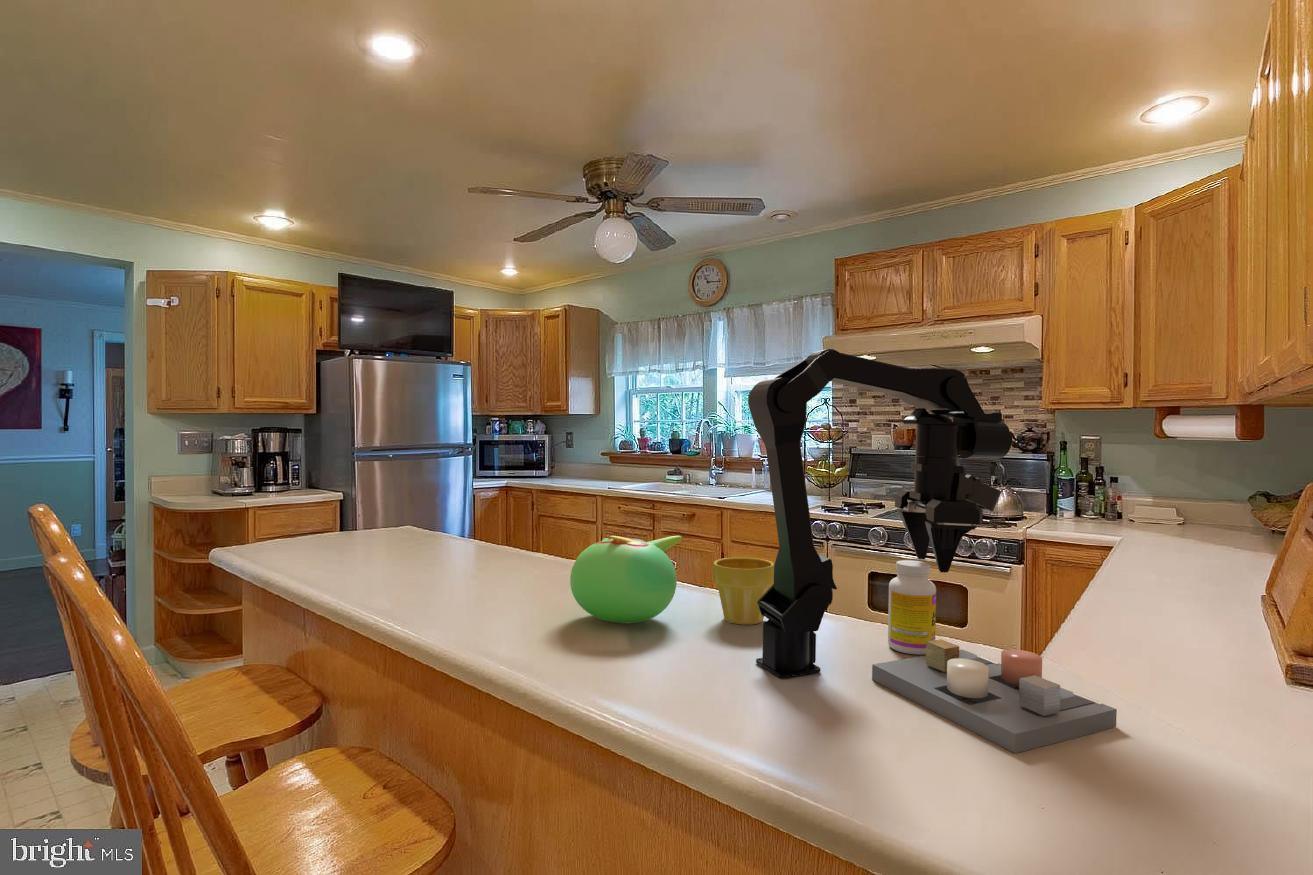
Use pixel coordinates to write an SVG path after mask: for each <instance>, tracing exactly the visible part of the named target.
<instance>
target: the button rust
mask: <svg viewBox="0 0 1313 875" xmlns="http://www.w3.org/2000/svg"><path fill="white" fill-rule="evenodd" d="M1000 657H1001V658H1000V659H1001V660H1000V664H1001V678H1002V679H1003V680H1005V681H1007V682H1009V683H1012V684H1015V685H1019V679H1020V678H1024V677H1029V676H1034V675H1035V676H1038V677H1041V678H1043V657H1042V656H1040V655H1039V654H1037V653H1035V652H1032V651H1027V650H1022V649H1013V648H1010V649H1009V648H1008V649H1003V650H1002V651H1001V655H1000Z"/></svg>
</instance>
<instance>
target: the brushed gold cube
mask: <svg viewBox="0 0 1313 875" xmlns="http://www.w3.org/2000/svg"><path fill="white" fill-rule="evenodd" d="M959 650H960V645H957V644H954V643H952V642H949V641H947V640H944V639H942V638H941V639H935V640H933V641H927V644H926V654H925V656H926V664H927V665H929V666H931V667H933V668H936V669H938V670H940V671H942V672H947V661H948V660H950V659H956V658H959Z"/></svg>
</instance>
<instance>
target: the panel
mask: <svg viewBox="0 0 1313 875" xmlns="http://www.w3.org/2000/svg"><path fill="white" fill-rule="evenodd" d="M959 658H961V659H970V660H975V661H978V662H981V663H983V664H985V665H987V666H988V667H989V679H988V696H986V697H984V698H968V697H963V696H959V695H956V694H954V693H952V692H950V691H949V690H948V689H947V672H942V671H940V670H938V669H936V668H933V667H931V666H929V665H927V664H926V655H921V656H920V655H919V656H914V657H908V658H904V659H897V660H891V661H885V662H879V663H873V664H871V681H874V682H877V683H878V684H879V685H882V686H883V687H884V688H887V689H889V690H891V691H894V692H895V693H897V694H899V695H900V696H903V697H905V698H907V699H908V700H911V701H912V702H914V703H917V704H918V705H920V706H922V707H924V708H926V709H928V710H930V711H932V712H934V713H935V714H937V715H940V716H942V717H944V718H945V719H948V721H949V720H950V721H951V722H954V723H956V724H957V725H959V726H961V727H964V728H965V729H967V730H969V731H971V732H973V733H975V734H976V735H978V736H981V737H982V738H984V739H986V740H988V741H989V742H992V743H993V744H996V745H998V746H1000V747H1002V748H1004V749H1006V750H1007V751H1009V752H1011V753H1013V754H1018V753H1022V752H1026V751H1029V750H1033V749H1037V748H1041V747H1044V746H1045V747H1046V746H1049V745H1052V744H1056V743H1059V742H1064V741H1067V740H1072V739H1076V738H1079V737H1083V736H1087V735H1091V734H1095V733H1098V732H1099V733H1100V732H1102V731H1106V730H1110V729H1113V728H1117V715H1118V714H1117V708H1115V707H1112V706H1110V705H1106V704H1104V702H1100V701H1099V700H1096V699H1094V698H1091V697H1089V696H1086V695H1084V694H1081V693H1078V692H1074V691H1072V690H1068V689H1066V688H1063V687H1061V686H1060V712H1059V713H1055V714H1051V715H1046V716H1043V715H1040V714H1038V713H1036V712H1033V711H1031V710H1029V709H1027V708H1024V707H1022V706H1020V705H1019V685H1015V684H1012V683H1009V682H1007V681H1005V680H1003V679H1002V678H1001V662H997V661H995V660H993V659H990V658H987V657H986V656H981V655H980V654H979V655H977V654H975V653H973V652H970V651H967V650H964V649H959ZM962 699H966V700H968V701H971V702H972V704H968V703H966V702H964V701H962ZM973 703H974V704H973Z"/></svg>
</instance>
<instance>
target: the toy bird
mask: <svg viewBox="0 0 1313 875" xmlns="http://www.w3.org/2000/svg"><path fill="white" fill-rule="evenodd" d="M608 537H609V538H606V537H605V538H602V539H601V541H598V542H595V543H593V544H591V545H589V546H588V547H587V548H585V549H584V550H583V551H582V552H580V554H579V555H578V556H577V557H576V559H575V561H574V563H573V565H572V568H571V571H570V577H569V580H570V581H569V583H570V584H569V585H570V590H571V593H572V596H573V598H574V599H575V601H576V603H577V604H578V605H579V606H580V607H581V609H583V610H584V611H585V612H586V613H588V614H589V615H591V616H593V617H595V618H597V619H599V620H602V621H606V622H610V623H616V624H635V623H641V622H645V621H647V620H651V619H653V618H655V617H657V616H658V615H660V614H661V613H662V612H664V610H666V609H667V608H668V607H669V605H670V603H671V602H672V600H673V598H674V596H675V594H676V589H677V582H678V581H677V579H678V578H677V572H676V569H675V566H674V564H673V561H672V560H671V559H670V557H669V556H668V555H667V554H666V553H665V551H667V550H668V549H671V548H672V547H674V546H675V545H676V544H678V543H679V542H680V541H682V539H683V536H681V535H673V536H667V537H666V536H665V537H662V538H658V539H654V540H649V541H645V540H643V539H639V538H630V537H624V536H618V535H609V536H608Z"/></svg>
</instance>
